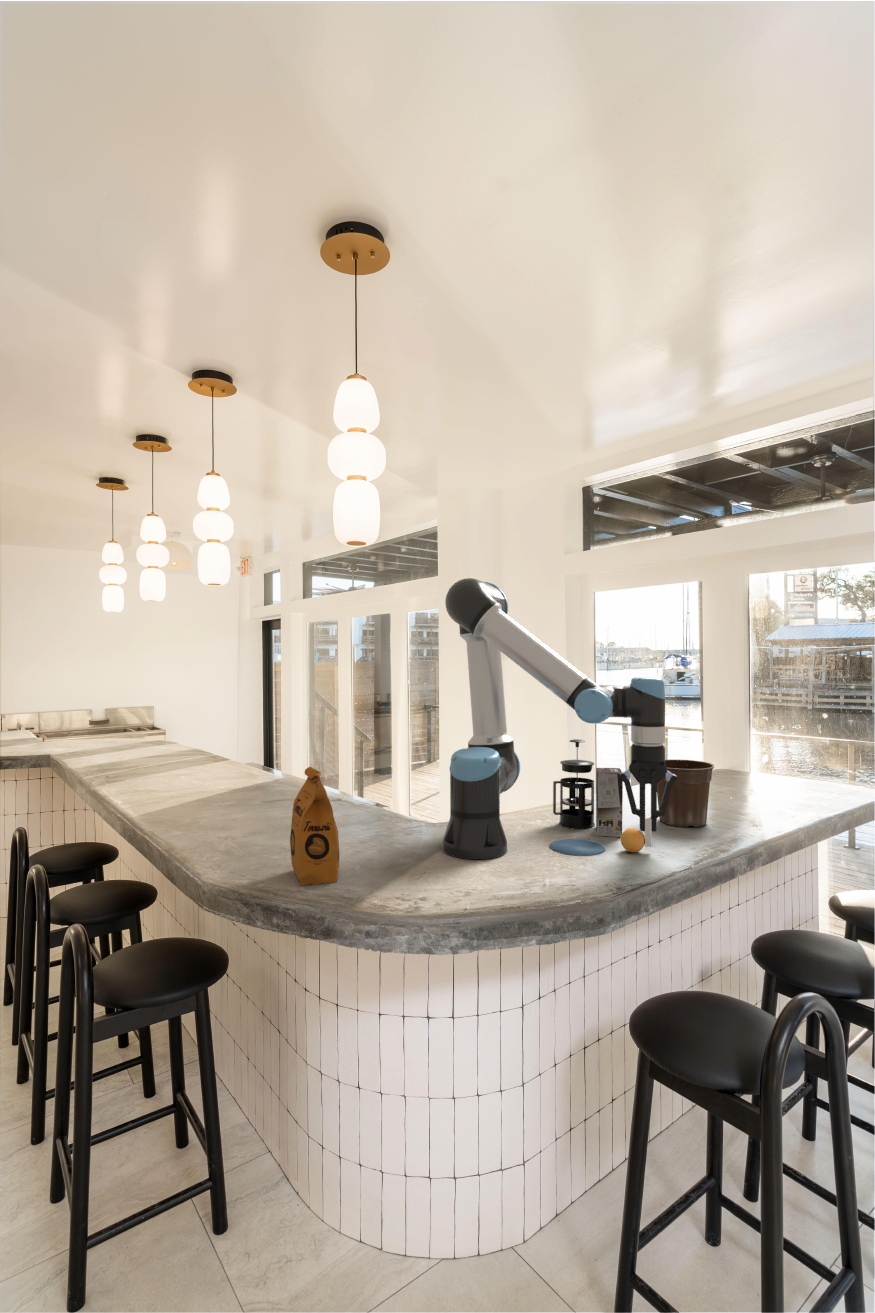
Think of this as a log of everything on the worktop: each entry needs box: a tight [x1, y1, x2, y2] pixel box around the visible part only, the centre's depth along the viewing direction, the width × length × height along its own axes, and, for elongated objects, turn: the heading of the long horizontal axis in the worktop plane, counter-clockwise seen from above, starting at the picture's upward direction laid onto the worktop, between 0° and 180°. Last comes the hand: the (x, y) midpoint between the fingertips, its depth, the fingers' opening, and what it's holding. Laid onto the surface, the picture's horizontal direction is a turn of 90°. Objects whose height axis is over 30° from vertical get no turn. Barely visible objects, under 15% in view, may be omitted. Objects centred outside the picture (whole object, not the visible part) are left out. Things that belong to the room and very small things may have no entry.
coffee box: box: [595, 767, 624, 838], centre depth 173 cm, size 9×6×16 cm
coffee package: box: [289, 766, 340, 886], centre depth 139 cm, size 10×12×22 cm
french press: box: [552, 738, 596, 830], centre depth 180 cm, size 12×9×23 cm
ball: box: [620, 827, 645, 853], centre depth 156 cm, size 6×6×6 cm
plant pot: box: [657, 759, 715, 828], centre depth 183 cm, size 16×16×16 cm
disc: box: [549, 838, 606, 857], centre depth 159 cm, size 13×13×1 cm
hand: (648, 845), depth 155 cm, fingers closed
